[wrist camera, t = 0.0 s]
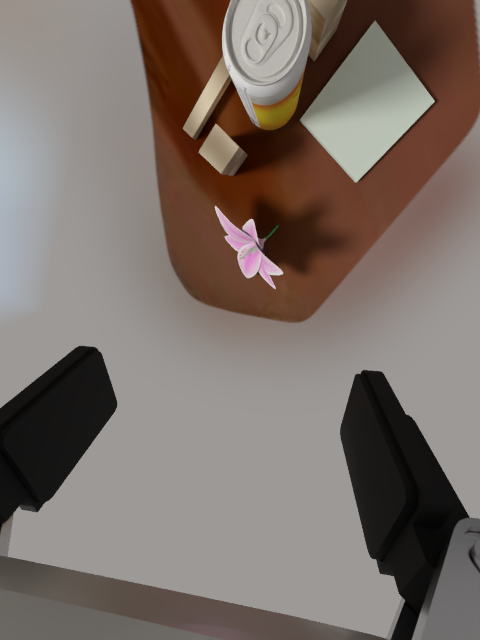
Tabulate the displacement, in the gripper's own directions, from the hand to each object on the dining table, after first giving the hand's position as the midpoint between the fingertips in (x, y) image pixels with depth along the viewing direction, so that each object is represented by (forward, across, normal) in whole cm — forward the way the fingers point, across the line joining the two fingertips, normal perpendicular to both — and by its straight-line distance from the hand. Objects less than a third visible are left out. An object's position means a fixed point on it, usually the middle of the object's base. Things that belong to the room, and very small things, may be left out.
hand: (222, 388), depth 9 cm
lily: (+32, +2, +1) cm, 32 cm away
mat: (+31, -10, -14) cm, 36 cm away
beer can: (+31, 0, -15) cm, 35 cm away
